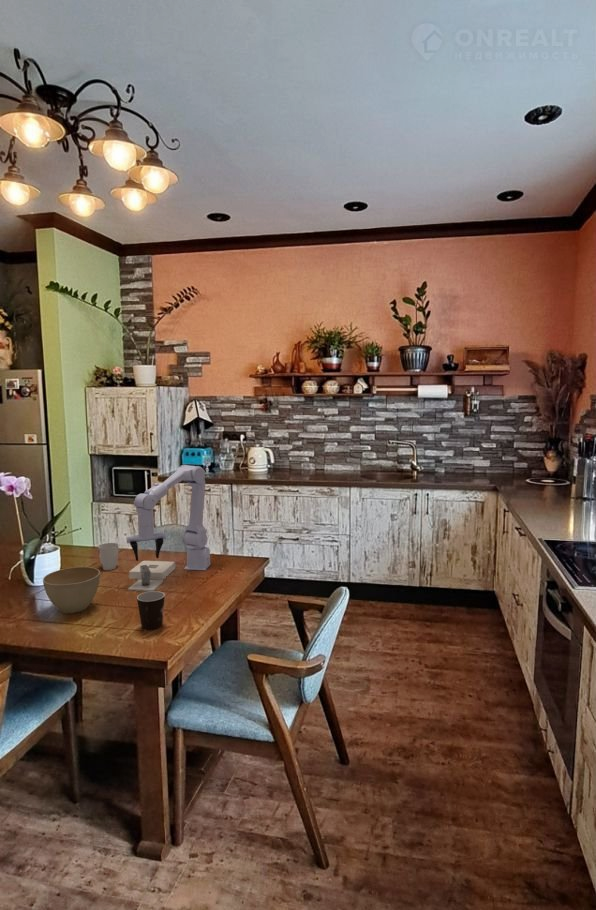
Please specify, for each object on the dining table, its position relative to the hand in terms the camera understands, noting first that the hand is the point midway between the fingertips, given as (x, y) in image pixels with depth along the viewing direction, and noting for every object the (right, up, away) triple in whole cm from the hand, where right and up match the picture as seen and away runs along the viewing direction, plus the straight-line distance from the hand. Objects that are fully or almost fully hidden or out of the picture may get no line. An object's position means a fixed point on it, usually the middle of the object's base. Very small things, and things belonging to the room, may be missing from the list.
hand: (147, 558), depth 209 cm
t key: (0, -10, -1) cm, 10 cm away
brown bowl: (-19, -13, -22) cm, 32 cm away
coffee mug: (+11, -15, -37) cm, 42 cm away
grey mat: (0, -10, -1) cm, 10 cm away
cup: (-22, -8, +20) cm, 31 cm away
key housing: (-1, -9, +14) cm, 16 cm away
